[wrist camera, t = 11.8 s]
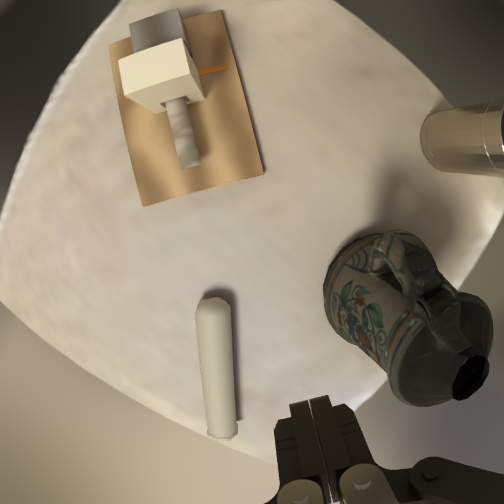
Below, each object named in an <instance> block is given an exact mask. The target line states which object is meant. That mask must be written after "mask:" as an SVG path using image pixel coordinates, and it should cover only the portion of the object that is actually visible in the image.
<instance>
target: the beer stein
mask: <svg viewBox="0 0 504 504" xmlns="http://www.w3.org/2000/svg"><path fill="white" fill-rule="evenodd" d="M323 295H324V307H325V312H326V316H327V319H328V321H329V323H330V324H331V326H332V328H333V329H334V330H335V331H336V333H337V334H338V335H339V336H341V337H342V338H343V339H344V340H346V341H347V342H349V343H351V344H354V345H356V346H358V347H359V348H360V349H361V350H363V351H364V352H365V353H366V354H367V355H368V356H369V357H371V358H372V359H373V360H374V361H375V362H376V363H377V364H378V365H379V366H380V367H381V368H382V369H383V370H384V371H385V372H386V373H387V376H388V379H389V383H390V387H391V389H392V392H393V394H394V395H395V396H396V397H397V398H398V399H399V400H400V401H401V402H403V403H405V404H407V405H411V406H416V407H429V406H433V405H438V404H441V403H444V402H447V401H449V400H451V399H456V400H459V401H460V400H463V399H467V398H469V397H470V396H471V395H472V394H473V393H475V392H476V391H477V390H478V389H479V388H480V387H481V386H482V385H483V383H484V381H485V379H486V377H487V376H488V373H489V362H488V356H489V353H490V350H491V346H492V341H493V320H492V316H491V313H490V310H489V308H488V306H487V305H486V303H485V302H484V301H483V300H482V299H480V298H479V297H478V296H475V295H472V294H468V293H464V292H458V291H457V290H456V289H455V288H454V287H453V286H452V285H451V284H450V283H449V281H448V280H446V279H445V278H444V277H443V275H442V274H441V273H440V272H439V271H438V268H437V266H436V263H435V261H434V259H433V257H432V255H431V254H430V252H429V250H428V249H427V247H426V246H425V244H424V243H423V242H422V241H421V240H420V239H419V238H418V237H416V236H414V235H413V234H411V233H410V232H407V231H402V230H394V231H390V232H388V233H386V234H379V233H378V234H374V235H370V236H366V237H362V238H358V239H356V240H354V241H353V242H352V243H350V244H349V245H347V246H346V247H344V248H343V249H342V250H341V251H340V252H339V254H338V255H337V256H336V258H335V259H334V260H333V262H332V263H331V264H330V265H329V268H328V271H327V275H326V278H325V281H324V284H323Z"/></svg>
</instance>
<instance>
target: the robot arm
mask: <svg viewBox="0 0 504 504" xmlns="http://www.w3.org/2000/svg"><path fill="white" fill-rule="evenodd" d="M421 145H422V149H423V152H424V154H425V156H426V158H427V160H428V161H429V163H430V164H431V165H432V166H433V167H435V168H436V169H438V170H440V171H443V172H452V173H462V174H473V175H483V176H492V177H501V178H504V99H502V100H496V101H491V102H486V103H480V104H475V105H470V106H465V107H460V108H455V109H450V110H445V111H441V112H436V113H433V114H431V115H430V116H429V117H427V119H426V120H425V121H424V124H423V126H422V130H421ZM309 401H310V407H311V410H310V407H309V403H308V400H305V401H301V402H297V403H293V404H289V406H290V412H291V417H290V418H285V419H281V420H278V422H277V424H276V427H275V429H274V437H275V445H276V454H277V463H278V471H279V480H280V486H279V490H278V492H277V494H276V495H275V496H274V497H273V498H272V499H271V500H270V501H268V502H267V503H264V504H330V503H331V497H330V491H331V495H332V499H333V502H338V501H340V504H504V475H503V474H499V473H495V472H490V471H487V470H483V469H479V468H475V467H472V466H468V465H464V464H461V463H457V462H454V461H451V460H447V459H444V458H440V457H427V458H425V459H422V460H420V461H419V462H417V464H415V465H414V467H413V468H408V469H400V470H389V469H385V468H382V467H380V466H379V465H378V464H376V463H375V462H374V460H373V457H372V455H371V453H370V450H369V448H368V446H367V443H366V441H365V438H364V436H363V433H362V431H361V428H360V426H359V424H358V422H357V419H356V416H355V414H354V412H353V410H352V409H350V408H349V407H348V406H347V405H345V404H341V405H337V406H334V407H332V405H331V402H330V399H329V396H328V395H325V396H321V397H317V398H313V399H309ZM311 412H312V414H311ZM312 417H313V418H312ZM328 483H329V484H328ZM329 487H330V491H329Z"/></svg>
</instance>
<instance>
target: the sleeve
mask: <svg viewBox="0 0 504 504" xmlns="http://www.w3.org/2000/svg"><path fill="white" fill-rule="evenodd" d="M118 64H119V69H120V75H121V81H122V86H123V91H124V96H126V97H128V98H129V99H131V100H133V101H135V102H136V103H138V104H140V105H141V106H143V107H145V108H146V109H148V110H150V111H151V112H153V113H155V114H158V113H161V112H164V111H167V109H166V105H165V102H166V101H169V100H173V99H176V98H179V97H182V96H185V99H186V104H190V103H193V102H197V101H200V100H204V99H205V98H204V94H203V90H202V86H201V82H200V78H199V74H198V71H197V68H196V66H195V64H194V62H193V60H192V58H191V56H190V54H189V52H188V50H187V48H186V46H185V43H184V41H183V39H182V38H179V39H176V40H173V41H170V42H166V43H163V44H160V45H157V46H154V47H151V48H148V49H146V50H143V51H140V52H137V53H135V54H132V55H129V56H127V57H124V58H122V59H119V60H118Z"/></svg>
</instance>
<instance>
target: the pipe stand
mask: <svg viewBox="0 0 504 504" xmlns="http://www.w3.org/2000/svg"><path fill="white" fill-rule="evenodd" d="M129 27H130V33H131V37H129V38H126V39H124V40H121V41H119V42H117V43H114V44H112V45H109V53H110V59H111V65H112V71H113V77H114V83H115V89H116V94H117V99H118V104H119V109H120V114H121V119H122V124H123V129H124V133H125V138H126V142H127V146H128V151H129V155H130V159H131V163H132V167H133V171H134V175H135V179H136V183H137V187H138V191H139V195H140V198H141V202H142V206H143V207H145V206H148V205H151V204H155V203H158V202H162V201H165V200H168V199H172V198H175V197H179V196H183V195H186V194H190V193H193V192H197V191H201V190H204V189H208V188H212V187H216V186H220V185H223V184H227V183H231V182H235V181H239V180H243V179H248V178H252V177H256V176H260V175H264V172H263V168H262V164H261V160H260V156H259V152H258V148H257V144H256V140H255V136H254V132H253V128H252V124H251V120H250V116H249V112H248V109H247V105H246V101H245V97H244V93H243V89H242V86H241V82H240V78H239V74H238V71H237V67H236V63H235V60H234V56H233V52H232V49H231V45H230V42H229V38H228V34H227V31H226V27H225V24H224V20H223V17H222V13H221V10H218V11H213V12H209V13H205V14H201V15H197V16H193V17H190V18H186V19H182V17H181V15H180V12H179V10H178V8H175V9H172V10H169V11H166V12H162V13H159V14H156V15H153V16H150V17H147V18H145V19H142V20H139V21H136V22H134V23H131V24H129ZM179 38H182V39H183V41H184V43H185V46H186V48H187V50H188V52H189V54H190V56H191V58H192V60H193V62H194V64H195V66H196V68H197V71H198V74H199V78H200V82H201V86H202V90H203V94H204V98H205V99H204V100H200V101H197V102H193V103H190V104H186V99H185V96H182V97H179V98H176V99H173V100H169V101H166V102H165V105H166V109H167V111H164V112H161V113H158V114H155V113H153V112H151V111H150V110H148V109H146V108H145V107H143V106H141V105H140V104H138V103H136V102H135V101H133V100H131V99H129V98H128V97H126V96H124V91H123V86H122V81H121V75H120V69H119V64H118V60H119V59H122V58H124V57H127V56H129V55H132V54H135V53H137V52H140V51H143V50H146V49H148V48H151V47H154V46H157V45H160V44H163V43H166V42H170V41H173V40H176V39H179Z"/></svg>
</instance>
